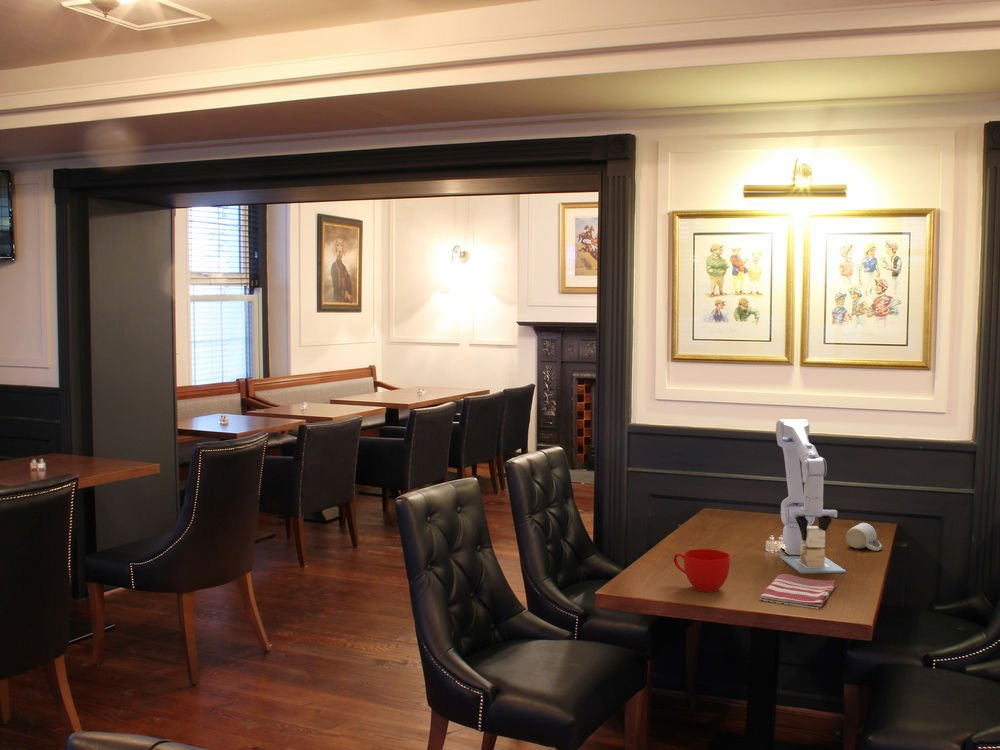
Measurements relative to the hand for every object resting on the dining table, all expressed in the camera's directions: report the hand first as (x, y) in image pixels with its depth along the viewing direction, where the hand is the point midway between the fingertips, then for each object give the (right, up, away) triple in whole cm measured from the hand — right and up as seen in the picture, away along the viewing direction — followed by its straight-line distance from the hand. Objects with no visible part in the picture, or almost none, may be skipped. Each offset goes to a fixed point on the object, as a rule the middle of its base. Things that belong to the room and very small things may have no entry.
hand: (812, 539), depth 296 cm
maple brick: (0, -7, 0) cm, 7 cm away
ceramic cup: (-40, -10, -23) cm, 47 cm away
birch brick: (0, -1, 0) cm, 1 cm away
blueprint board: (0, -8, 0) cm, 8 cm away
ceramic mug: (+25, -7, +23) cm, 34 cm away
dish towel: (-14, -11, -29) cm, 34 cm away
